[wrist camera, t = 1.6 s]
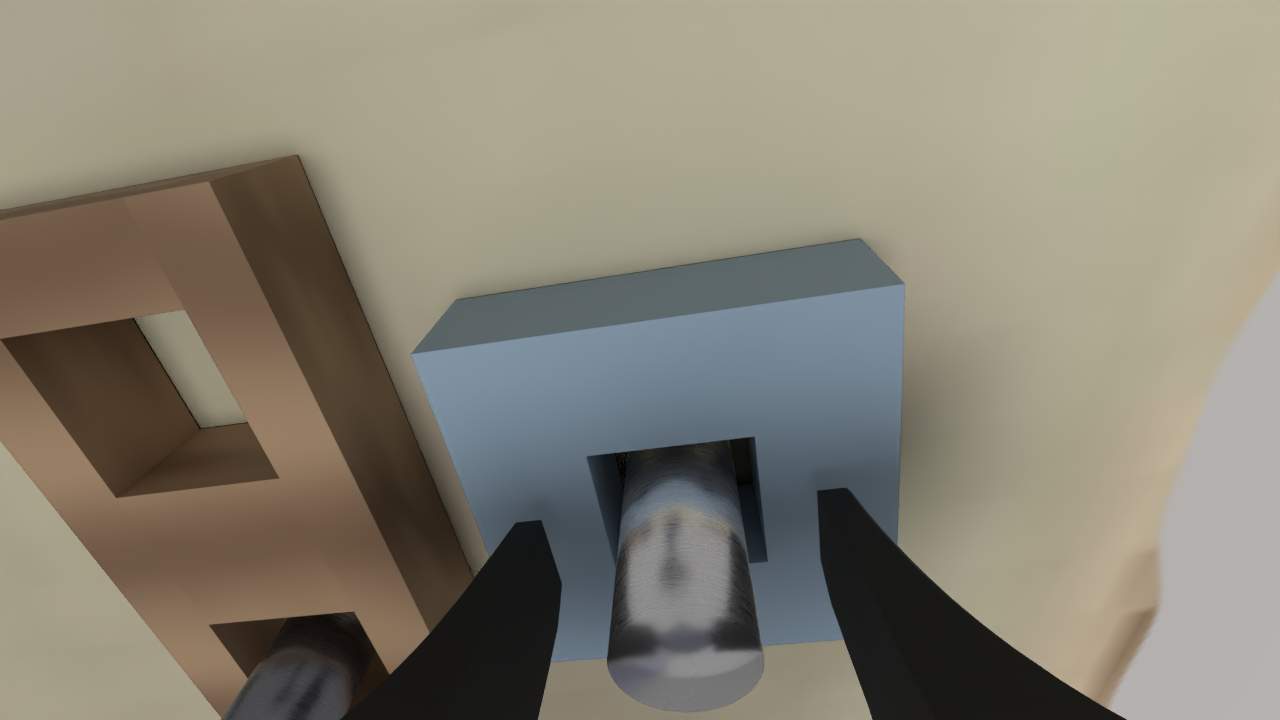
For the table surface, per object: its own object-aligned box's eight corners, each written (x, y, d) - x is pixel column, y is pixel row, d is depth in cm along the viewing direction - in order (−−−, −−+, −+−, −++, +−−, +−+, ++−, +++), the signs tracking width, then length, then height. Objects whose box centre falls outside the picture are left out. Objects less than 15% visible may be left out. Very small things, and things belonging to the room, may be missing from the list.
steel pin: (733, 471, 17) (769, 706, 11) (638, 482, 18) (622, 716, 12) (723, 389, 16) (757, 603, 10) (621, 402, 17) (592, 617, 10)
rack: (509, 664, 22) (487, 750, 19) (306, 680, 23) (258, 764, 20) (296, 154, 14) (208, 181, 11) (-5, 211, 15) (-153, 248, 12)
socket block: (862, 551, 19) (895, 635, 16) (549, 580, 20) (531, 663, 17) (860, 238, 14) (904, 283, 11) (455, 300, 15) (410, 354, 13)
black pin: (413, 612, 21) (326, 806, 16) (338, 618, 21) (227, 811, 16) (383, 552, 20) (278, 742, 14) (304, 560, 20) (171, 749, 15)
